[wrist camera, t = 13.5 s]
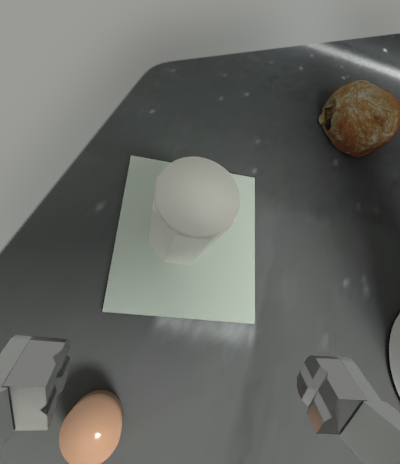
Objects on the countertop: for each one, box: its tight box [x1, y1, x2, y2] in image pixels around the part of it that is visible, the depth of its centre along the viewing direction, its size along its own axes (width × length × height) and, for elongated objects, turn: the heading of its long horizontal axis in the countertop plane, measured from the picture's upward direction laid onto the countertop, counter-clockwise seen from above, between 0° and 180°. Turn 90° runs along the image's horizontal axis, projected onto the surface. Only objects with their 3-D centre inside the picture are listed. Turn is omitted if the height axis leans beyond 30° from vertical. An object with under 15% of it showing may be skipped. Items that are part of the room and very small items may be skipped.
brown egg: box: [59, 390, 123, 464], centre depth 20 cm, size 4×4×3 cm
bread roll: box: [319, 80, 400, 157], centre depth 36 cm, size 10×10×8 cm
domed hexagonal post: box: [148, 157, 240, 265], centre depth 23 cm, size 6×6×9 cm
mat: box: [102, 155, 255, 324], centre depth 28 cm, size 14×16×1 cm
